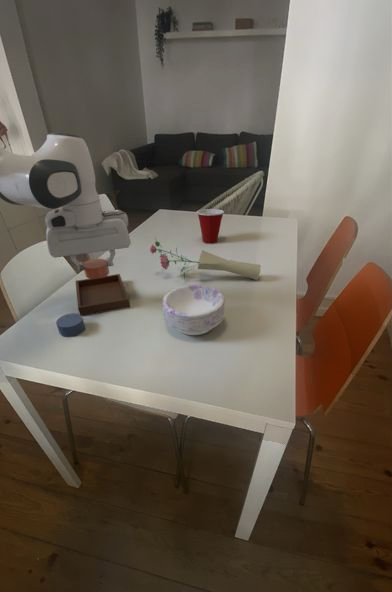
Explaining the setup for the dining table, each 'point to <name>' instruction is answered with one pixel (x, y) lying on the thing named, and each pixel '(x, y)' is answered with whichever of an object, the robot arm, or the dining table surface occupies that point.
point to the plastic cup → (210, 224)
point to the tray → (101, 295)
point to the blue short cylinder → (70, 325)
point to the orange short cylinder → (96, 268)
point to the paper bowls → (193, 309)
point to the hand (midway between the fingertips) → (95, 267)
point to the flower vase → (213, 263)
